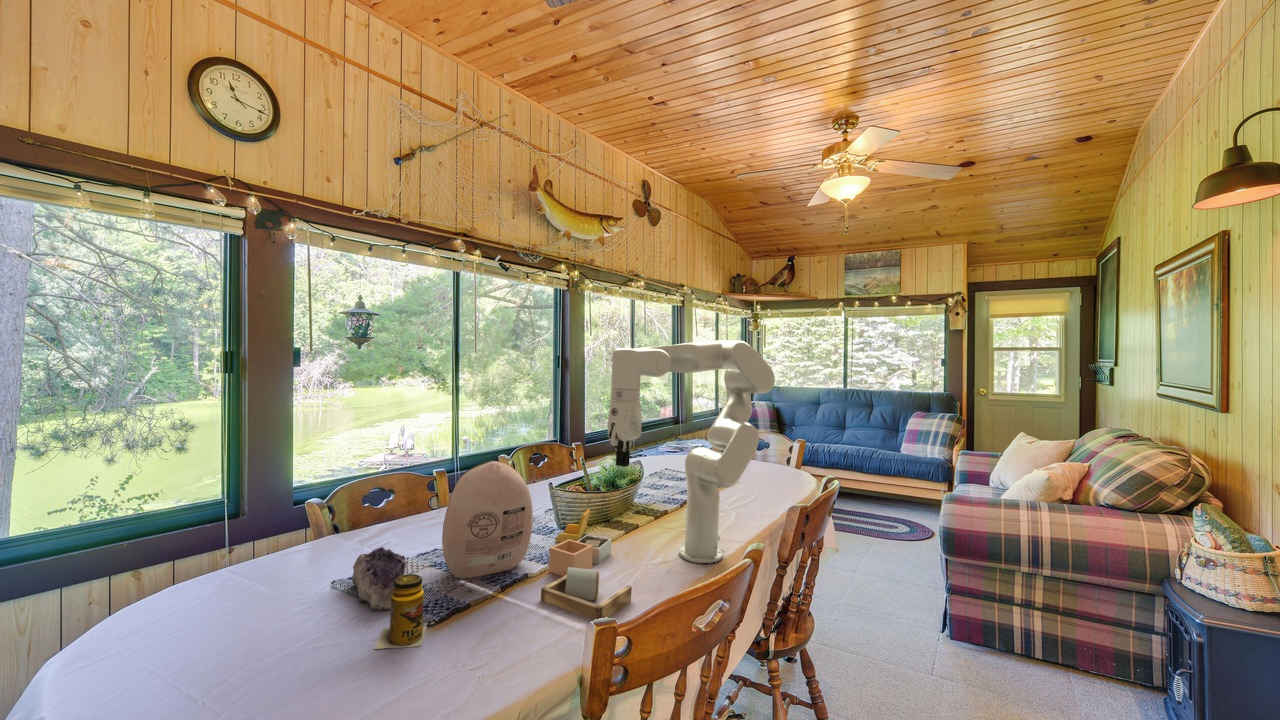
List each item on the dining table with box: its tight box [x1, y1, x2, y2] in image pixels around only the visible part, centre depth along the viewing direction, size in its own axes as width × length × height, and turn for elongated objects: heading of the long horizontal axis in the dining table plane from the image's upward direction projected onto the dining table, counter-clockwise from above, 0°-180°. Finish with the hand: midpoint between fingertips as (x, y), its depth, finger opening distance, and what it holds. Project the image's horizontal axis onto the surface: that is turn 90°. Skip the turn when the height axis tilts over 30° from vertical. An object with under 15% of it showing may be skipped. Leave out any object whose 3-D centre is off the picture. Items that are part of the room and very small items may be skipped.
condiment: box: [373, 573, 428, 650], centre depth 106 cm, size 7×8×12 cm
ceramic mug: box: [564, 567, 600, 602], centre depth 127 cm, size 10×8×7 cm
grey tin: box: [577, 534, 612, 565], centre depth 150 cm, size 8×8×5 cm
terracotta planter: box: [548, 539, 593, 577], centre depth 140 cm, size 8×8×7 cm
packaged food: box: [441, 460, 534, 580], centre depth 137 cm, size 22×20×30 cm
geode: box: [351, 546, 407, 613], centre depth 125 cm, size 20×12×10 cm, turn 36°
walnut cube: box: [585, 540, 601, 548], centre depth 150 cm, size 4×4×4 cm
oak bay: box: [540, 575, 633, 620], centre depth 124 cm, size 13×16×4 cm
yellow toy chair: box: [554, 509, 591, 544], centre depth 164 cm, size 10×10×9 cm
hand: (622, 465), depth 139 cm, fingers closed
